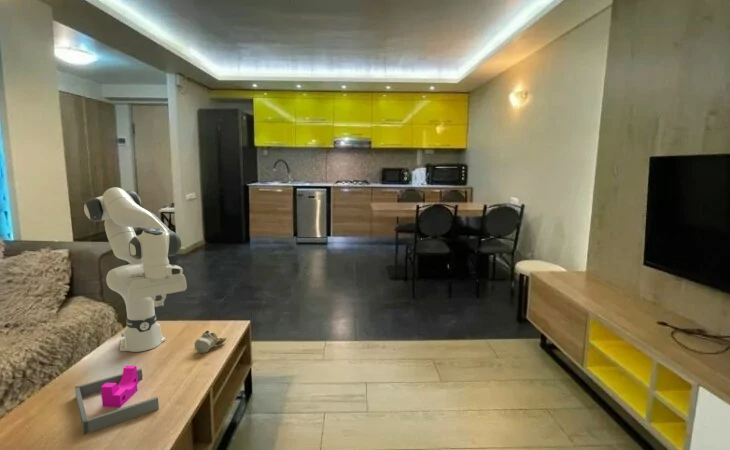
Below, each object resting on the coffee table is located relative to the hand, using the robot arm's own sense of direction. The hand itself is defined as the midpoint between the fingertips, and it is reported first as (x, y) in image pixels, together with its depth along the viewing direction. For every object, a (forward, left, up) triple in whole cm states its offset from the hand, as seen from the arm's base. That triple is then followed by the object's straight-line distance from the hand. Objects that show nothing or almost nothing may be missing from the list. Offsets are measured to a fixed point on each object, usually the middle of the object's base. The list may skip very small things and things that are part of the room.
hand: (159, 306), depth 157 cm
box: (+9, -17, -29) cm, 35 cm away
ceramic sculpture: (-15, +22, -29) cm, 40 cm away
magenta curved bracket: (+5, -14, -29) cm, 33 cm away
